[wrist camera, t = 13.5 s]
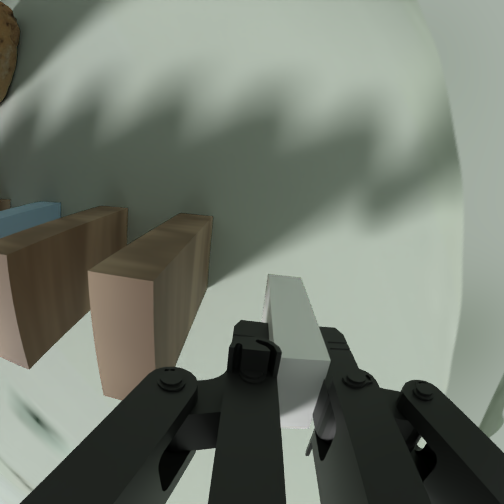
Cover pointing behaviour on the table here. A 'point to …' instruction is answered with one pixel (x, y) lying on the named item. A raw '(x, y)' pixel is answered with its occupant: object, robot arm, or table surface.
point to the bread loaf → (7, 47)
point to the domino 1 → (28, 216)
